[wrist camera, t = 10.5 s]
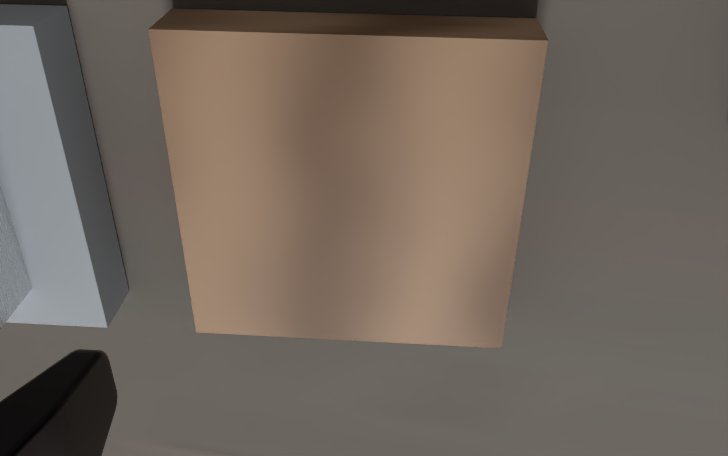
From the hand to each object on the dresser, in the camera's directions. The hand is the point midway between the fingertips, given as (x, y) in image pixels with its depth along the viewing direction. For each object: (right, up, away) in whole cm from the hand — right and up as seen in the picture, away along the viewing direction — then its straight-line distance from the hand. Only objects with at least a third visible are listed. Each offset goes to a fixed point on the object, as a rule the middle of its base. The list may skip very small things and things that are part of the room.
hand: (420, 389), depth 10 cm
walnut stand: (-1, +4, +12) cm, 13 cm away
